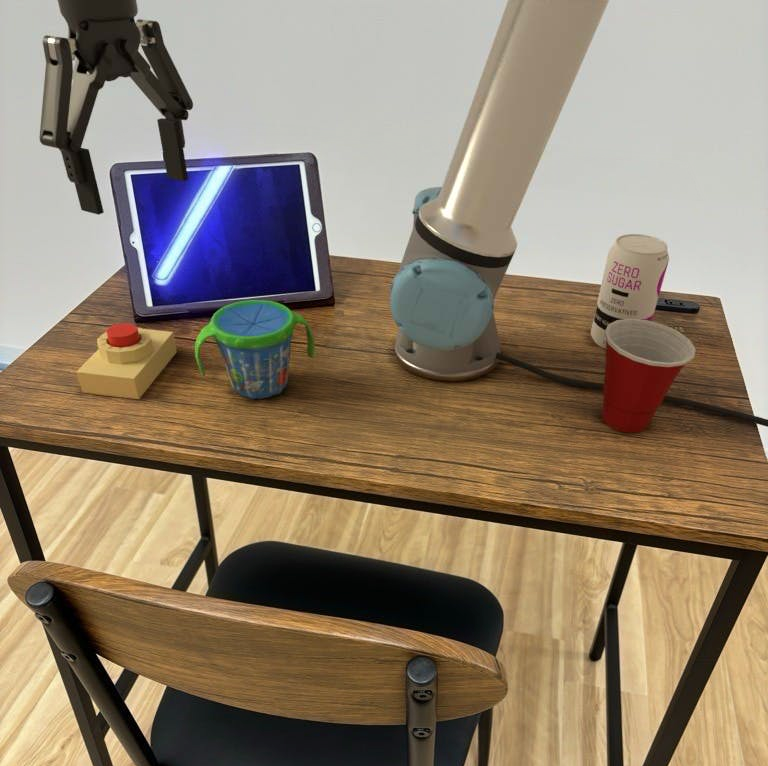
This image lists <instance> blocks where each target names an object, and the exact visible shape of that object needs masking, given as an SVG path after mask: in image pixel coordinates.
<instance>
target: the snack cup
mask: <svg viewBox="0 0 768 766" xmlns="http://www.w3.org/2000/svg"><path fill="white" fill-rule="evenodd" d="M297 324H300V325H304V326H305V333H306V342H307V344H306V354H307V356H308V357H309V358H310V359H311V358H314V356H315V352H316V351H315V350H316V341H315V336H314V332H313V329H312V327H311V326H310V324H309V322H308V321H307V320H306V319H305V318H304V317H303V316H302V315H301V314H300V313H297V312H295V311H292V310H291V309H290V308H289V307H287V306H286V305H284V304H282V303H280V302H276V301H271V300H265V299H247V300H241V301H237V302H233V303H230V304H227V305H225V306H223V307H221V308H220V309H218V310H216V312H214V313H213V315H212V317H211V319H210V322H209V323H208V324H207V325H205V326H204V327H203V328H202V329H201V330H200V331H199V334H198V335H197V337H196V340H195V344H194V356H195V361H196V363H197V366H198V369H199V371H200V373H201V376H203V377H204V376H206V372H205V369H204V366H203V364H202V359H201V357H200V350H201V347H202V346H203V345H204V343H205V342H206V341H207V339H209V338H214V340H215V342H216V345H217V348H218V349H219V351H220V354H221V355H222V358H223V362H224V366H225V368H226V373H227V376H228V378H229V381H230V384H231V387H232V389H233V391H235V392H236V393H237V394H239V395H240V396H243V397H245V398H249V399H251V400H257V399H260V400H261V399H265V398H270V397H273V396H276V395H280V394H281V393H282V391H283V390H284V389H285V388H286V387H287V384H288V380H289V375H290V374H289V372H290V371H289V370H290V359H291V343H292V337H293V334H294V330H295V327H296V326H297Z"/></svg>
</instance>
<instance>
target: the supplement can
mask: <svg viewBox="0 0 768 766" xmlns="http://www.w3.org/2000/svg"><path fill="white" fill-rule="evenodd" d="M669 255H670V254H669V251H668V244H667V242H665V241H664V240H662V239H660V238H658V237H655V236H652V235H647V234H640V233H629V234H623V235H620V236H618V237H616V239H615V242H614V243H613V244H612V246H611V247H610V248H609V249H608V253H607V258H606V263H605V266H604V271H603V275H602V280H601V285H600V288H599V293H598V297H597V302H596V307H595V311H594V316H593V320H592V323H591V328H590V337H591V338H592V339H593V341H594V342H595V344H596V345H598V346H599V347H601V348H603V349H605V350H606V344H607V343H606V338H605V331H606V328H607V326H608V325H609V324H611V323H613V322H615V321H616V320H623V319H639V320H648V321H652V322H653V318H654V314H655V311H656V307H657V303H658V300H659V297H660V293H661V291H662V286H663V283H664V279H665V275H666V272H667V269H668V265H669V262H670V256H669Z"/></svg>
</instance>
